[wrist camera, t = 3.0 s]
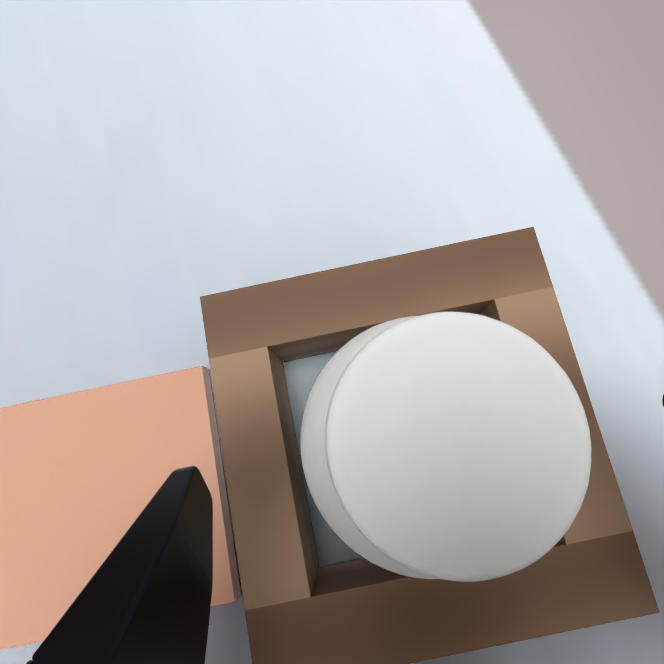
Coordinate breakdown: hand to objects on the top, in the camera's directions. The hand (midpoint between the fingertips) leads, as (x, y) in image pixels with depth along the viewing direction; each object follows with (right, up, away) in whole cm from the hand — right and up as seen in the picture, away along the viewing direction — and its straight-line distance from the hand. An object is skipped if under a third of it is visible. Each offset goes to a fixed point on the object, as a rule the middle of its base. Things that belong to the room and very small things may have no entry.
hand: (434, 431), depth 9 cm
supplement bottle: (0, -2, +8) cm, 8 cm away
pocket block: (0, -2, +8) cm, 8 cm away
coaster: (-9, -4, +8) cm, 13 cm away
